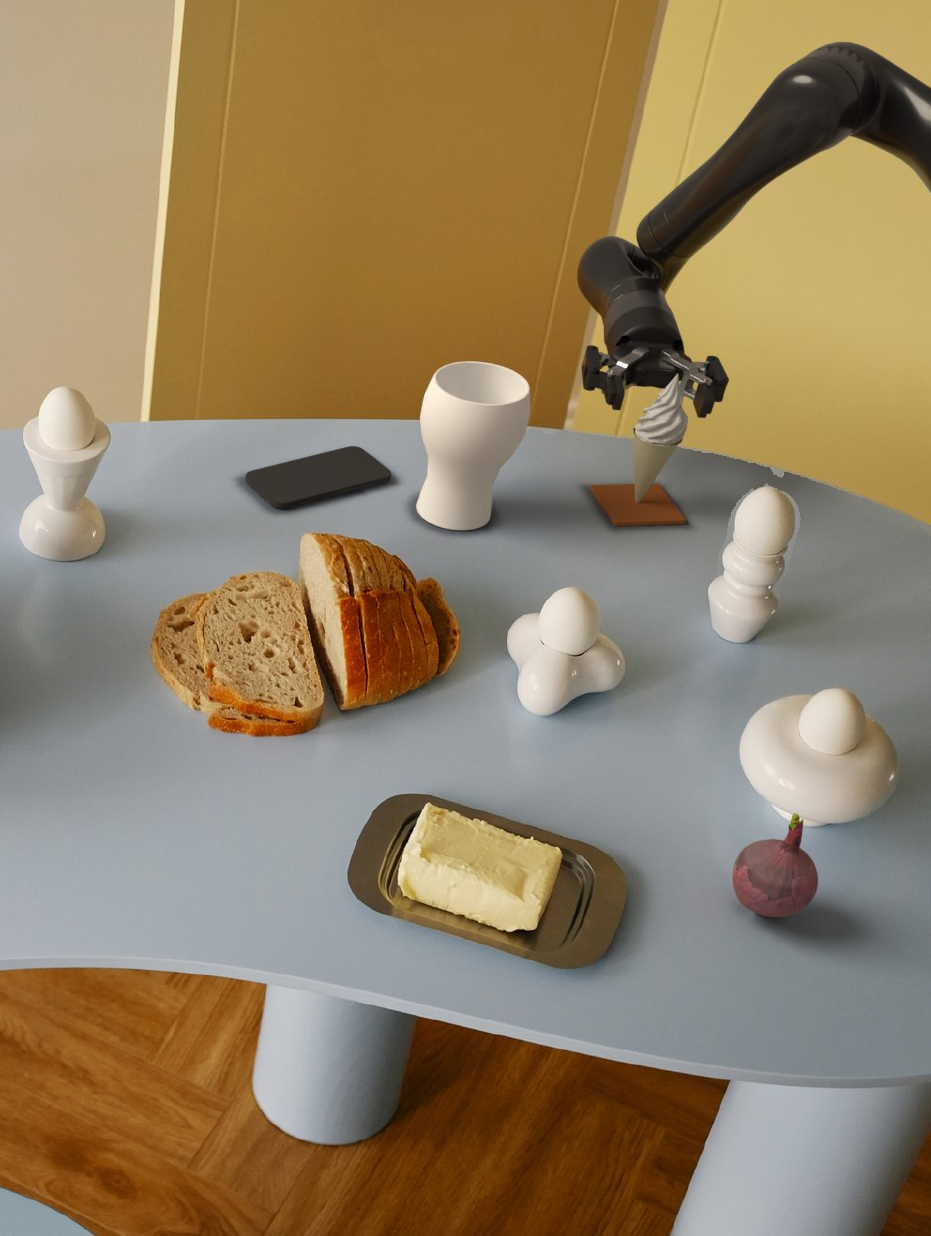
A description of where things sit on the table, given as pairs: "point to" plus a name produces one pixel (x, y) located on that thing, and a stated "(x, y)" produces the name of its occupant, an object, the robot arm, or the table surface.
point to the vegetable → (776, 874)
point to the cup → (469, 439)
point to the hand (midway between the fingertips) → (662, 406)
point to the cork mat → (637, 505)
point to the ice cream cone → (658, 436)
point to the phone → (317, 476)
